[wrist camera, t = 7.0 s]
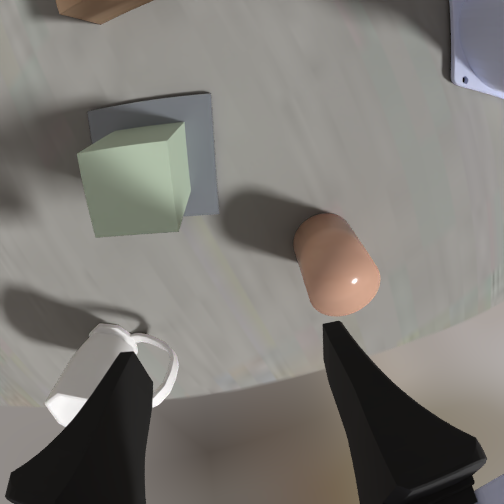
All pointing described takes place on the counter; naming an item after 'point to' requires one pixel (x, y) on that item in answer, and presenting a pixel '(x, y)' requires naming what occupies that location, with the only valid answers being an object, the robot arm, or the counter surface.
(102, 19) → the walnut block
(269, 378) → the counter surface
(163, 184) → the sage block
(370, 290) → the terracotta cylinder
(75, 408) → the cup
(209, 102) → the slate coaster
